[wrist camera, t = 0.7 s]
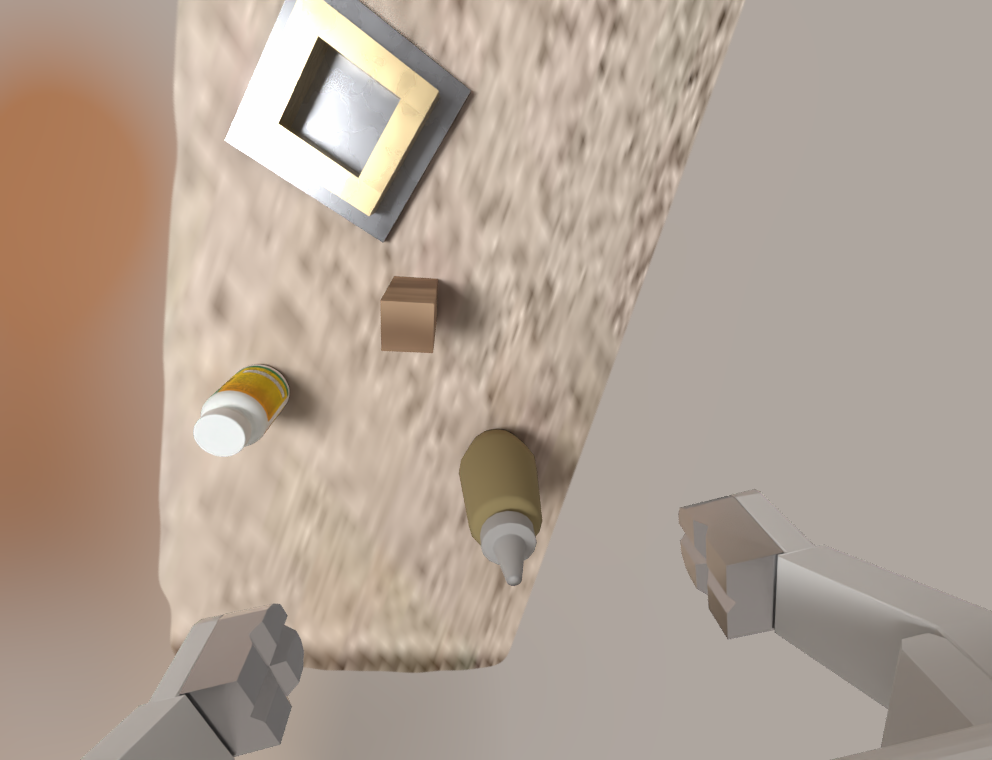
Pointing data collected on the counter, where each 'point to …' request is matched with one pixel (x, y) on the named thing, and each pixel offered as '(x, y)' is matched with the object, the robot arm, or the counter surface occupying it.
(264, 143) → the collar
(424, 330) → the peg
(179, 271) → the counter surface
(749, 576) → the robot arm
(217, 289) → the counter surface
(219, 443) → the supplement bottle
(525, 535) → the squeeze bottle
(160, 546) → the counter surface
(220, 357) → the counter surface
